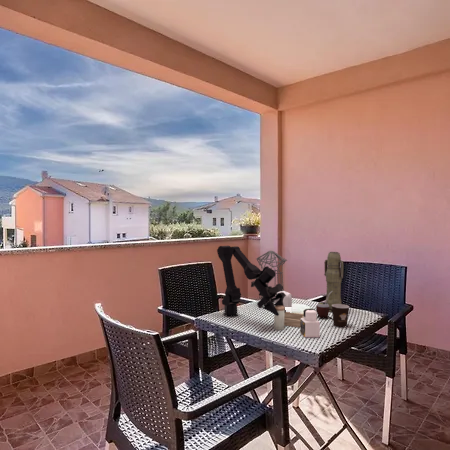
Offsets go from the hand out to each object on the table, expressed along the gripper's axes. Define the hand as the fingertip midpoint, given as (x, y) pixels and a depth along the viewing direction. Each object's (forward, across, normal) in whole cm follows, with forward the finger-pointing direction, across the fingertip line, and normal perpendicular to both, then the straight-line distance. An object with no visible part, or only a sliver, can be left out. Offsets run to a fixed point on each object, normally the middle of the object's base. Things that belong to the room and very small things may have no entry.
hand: (281, 313), depth 177 cm
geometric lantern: (-15, +34, +26) cm, 45 cm away
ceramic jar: (+4, 0, +6) cm, 8 cm away
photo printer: (-6, +28, +17) cm, 33 cm away
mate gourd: (+10, +34, +1) cm, 35 cm away
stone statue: (+9, +51, +2) cm, 52 cm away
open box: (+4, +13, +7) cm, 15 cm away
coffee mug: (+18, +25, -7) cm, 32 cm away
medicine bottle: (+16, +1, -5) cm, 17 cm away
